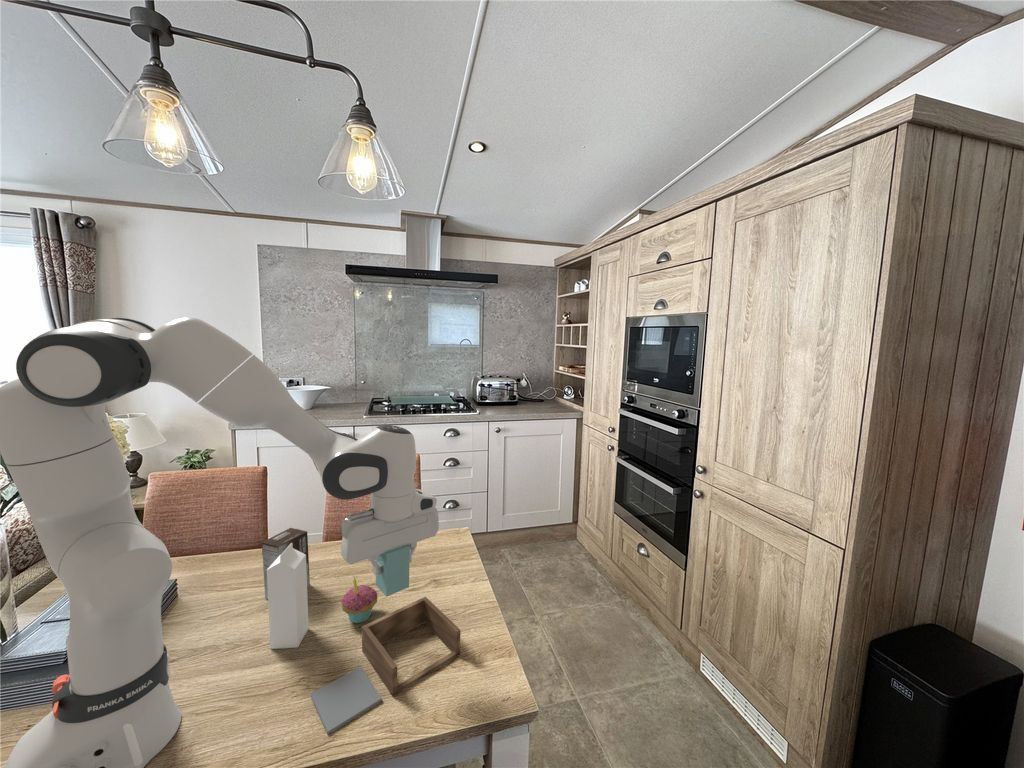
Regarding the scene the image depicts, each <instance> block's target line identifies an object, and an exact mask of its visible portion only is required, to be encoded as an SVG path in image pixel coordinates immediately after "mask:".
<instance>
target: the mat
mask: <svg viewBox="0 0 1024 768" xmlns="http://www.w3.org/2000/svg"><path fill="white" fill-rule="evenodd" d="M310 698H311V700H312V703H313V705H314V708H315V710H316V712H317V714H318V717H319V719H320V721H321V723H322V725H323V728H324V730H325V733H326V734H327V735H330V734H331V733H333V732H334V731H336V730H339V728H341V727H342V726H344V725H346V724H348V723H349V722H350V721H352V720H354V719H356V718H357V717H359V716H361V715H362V714H363V713H365V712H367V711H369V710H370V709H372V708H374V707H375V706H376V705H378V704H379V703H381V702H383V698H382V696H381V695H380V693H379V692H378V690H377V689H376V687H375V685H374V684H373V682H372V681H371V679H370V678H369V676H368V675H367V673H366V671H365V670H364V668H363V667H362V666H359V667H357V668H355V669H353V670H352V671H350V672H348V673H346V674H344V675H342V676H340V677H338V678H337V679H335V680H333V681H331V682H330V683H328V684H325V685H324V686H322V687H321V688H318V689H317V690H314V691H313V692H311V693H310Z"/></svg>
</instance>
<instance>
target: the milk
mask: <svg viewBox="0 0 1024 768" xmlns="http://www.w3.org/2000/svg"><path fill="white" fill-rule="evenodd" d="M267 588H268V599H267V605H268V608H267V609H268V625H269V626H268V627H269V645H270V646H269V648H270V649H271V650H273V649H277V650H278V649H279V650H280V649H292V648H293V649H294V648H295V649H296V648H299V646H300V644H301V643H302V641H303V639H304V638H305V635H307V632H308V631H309V627H310V625H309V608H308V607H309V605H308V604H309V603H308V601H309V600H308V599H309V598H308V586H307V571H306V555H305V554H303V553H301V552H299V551H297V550H295V549H293V544H292V543H291V544H290V545H289V546H288V547H287V548H286V550H285V551H284V552H283V553H282V554H281V555H280V556H279V557H278V558H277V559H276V560H275V561H274V562H273V563H272V565H271V566H270V567H269V568H268V569H267Z"/></svg>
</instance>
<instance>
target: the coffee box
mask: <svg viewBox="0 0 1024 768" xmlns="http://www.w3.org/2000/svg"><path fill="white" fill-rule="evenodd" d="M308 539H309V538H308V531H307V530H302V529H300V528H293V527H289V528H288V529H287V528H286V529H285V530H284V531H282V532H279V533H277V534H275V535H273V536H271V537H270V538H268V539H266V540H263V541H262V542H261V550H262V551H261V553H262V567H263V568H262V569H263V570H262V571H263V582H264V583H263V584H264V599H265V600H268V588H267V569H268V568H269V567H270V566H271V565H272V563H273V562H274V561H275V560H276V559H277V558H278V557H279V556H280V555H281V554H282V553H283V552H284V551H285V550H286V548H287V547H288V546H289V545H290V544H291V543H292V544H293V549H295V550H297V551H299V552H301V553H303V554H305V555H306V571H307V587H309V586H310V585H311V581H310V560H309V559H310V556H309V541H308Z"/></svg>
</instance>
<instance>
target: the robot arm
mask: <svg viewBox="0 0 1024 768" xmlns="http://www.w3.org/2000/svg"><path fill="white" fill-rule="evenodd" d="M15 370H16V375H17V377H18V378H17V379H15V380H12V381H10V382H9V381H8V382H7V383H5V384H3V385H2V386H0V455H1V456H2V459H3V463H4V464H5V466H6V468H7V471H8V473H9V474H10V476H11V478H12V481H13V483H14V485H15V488H16V489H17V492H18V494H19V496H20V497H21V500H22V502H23V504H24V506H25V509H26V511H27V513H28V515H29V517H30V520H31V523H32V525H33V529H34V532H35V534H36V536H37V538H38V541H39V543H40V545H41V548H42V550H43V553H44V555H45V558H46V560H47V563H48V565H49V566H50V569H51V570H52V572H53V573H54V574H55V575H56V577H57V578H58V580H59V581H60V582H61V584H62V585H63V588H64V589H65V590H64V591H66V594H67V595H66V596H67V597H68V598H67V599H68V603H69V628H68V634H67V637H66V640H65V646H66V654H67V655H66V656H67V664H68V672H69V674H62V675H60V676H58V677H57V678H56V679H55V680H54V681H53V683H52V687H51V693H52V694H53V697H52V700H51V703H52V704H51V706H52V707H51V708H52V710H51V711H50V712H49V713H48V714H47V715H45V716H44V717H43V718H41V719H40V720H39V721H38V722H37V723H36V724H35V725H34V726H33V727H31V728H30V729H29V730H27V731H26V732H25V733H24V734H23V735H22V736H21V737H20V739H18V741H17V743H16V744H15V745H14V747H13V749H12V750H11V752H10V755H9V757H8V758H7V761H6V763H5V765H4V768H145V767H146V765H148V763H149V762H150V761H151V760H152V759H153V758H154V757H155V756H157V755H158V754H159V753H160V752H161V751H162V750H163V749H164V748H165V747H166V746H167V745H168V743H169V742H170V741H171V740H172V739H173V737H174V736H175V735H176V733H177V731H178V729H179V727H180V724H181V722H182V712H181V709H180V708H179V707H178V705H177V703H176V701H175V699H174V697H173V694H172V691H171V687H170V685H169V679H170V673H171V672H170V659H169V658H170V657H169V653H168V650H167V647H166V645H165V644H164V639H163V628H162V627H163V625H162V602H163V595H164V590H165V588H166V585H167V584H168V582H169V580H170V579H171V575H172V573H173V562H172V559H171V556H170V553H169V551H168V548H167V547H166V545H165V543H164V542H163V541H162V540H161V539H160V538H158V537H157V536H156V535H154V534H153V533H151V531H149V530H148V529H147V528H145V527H144V525H143V524H142V523H141V521H139V519H138V517H137V514H136V512H135V508H134V504H133V503H134V502H133V499H132V492H131V483H132V482H131V477H130V474H129V471H128V469H127V467H126V464H125V461H124V458H123V456H122V453H121V451H120V448H119V445H118V443H117V440H116V438H115V434H114V433H113V429H112V428H111V424H110V423H109V420H108V417H107V413H106V407H107V403H109V402H112V401H113V400H116V399H118V398H120V397H123V396H125V395H127V394H129V393H131V392H134V391H136V390H139V389H141V388H143V387H145V386H147V385H148V383H162V384H165V385H168V386H171V387H173V388H175V389H176V390H178V391H179V392H181V393H183V394H184V395H185V396H186V397H188V398H189V399H191V400H192V401H194V402H195V403H197V404H198V405H199V406H201V407H202V408H204V409H205V410H206V411H208V412H209V413H211V414H213V415H214V416H216V417H218V418H220V419H222V420H225V421H227V422H228V423H230V424H233V425H235V426H237V427H258V428H260V427H261V428H266V429H269V430H271V431H273V432H275V433H277V434H279V435H280V436H282V437H283V438H285V439H286V440H287V441H289V442H290V443H292V444H293V445H295V446H296V447H297V448H299V449H301V451H303V452H305V453H306V454H307V455H308V456H309V457H310V458H311V460H312V462H313V464H314V467H315V469H316V470H317V473H319V476H320V480H321V482H322V485H323V488H324V489H325V491H326V492H327V494H329V495H330V496H332V497H333V498H336V499H339V500H353V499H358V498H360V497H364V496H365V497H366V496H367V495H370V509H367V510H363V511H359V512H354V513H351V514H350V515H349V516H348V517H346V518H345V519H344V520H343V521H342V523H341V535H342V536H341V537H342V539H341V545H340V547H341V548H340V556H341V557H342V559H343V560H344V561H345V562H347V563H348V564H349V565H353V564H355V563H359V562H362V561H365V560H368V561H369V562H370V564H371V565H372V567H371V568H372V570H371V571H372V573H373V575H375V576H376V575H378V574H381V573H383V570H382V569H383V565H382V564H381V563H380V562H377V563H376V560H378V555H380V554H383V553H385V552H388V551H391V550H394V549H397V548H400V547H403V546H406V545H409V546H410V562H409V564H411V563H412V558H413V557H412V555H413V554H414V552H415V550H416V549H417V545H418V542H421V541H424V540H427V539H430V538H433V537H435V536H436V535H437V533H438V532H439V528H440V527H439V525H440V524H439V523H440V522H439V519H440V518H439V511H438V509H437V507H436V506H437V504H438V502H437V501H438V498H436V497H435V496H434V495H433V494H431V493H429V492H427V491H425V490H423V489H419V488H418V489H417V487H416V484H415V475H416V474H415V473H416V470H417V452H416V451H417V448H416V440H415V436H414V434H412V433H411V431H410V430H408V429H406V428H404V427H402V426H397V425H390V424H389V425H388V424H384V425H377V426H376V427H375V428H374V429H373V430H372V431H371V432H369V433H368V434H366V435H364V436H363V437H361V438H359V439H358V438H356V437H354V436H352V435H350V434H346V433H342V432H339V431H335V430H333V429H330V428H329V427H328V426H326V425H325V424H324V423H322V422H321V421H320V420H318V419H317V418H316V417H315V416H313V415H312V414H311V413H309V412H308V411H307V410H306V409H304V408H303V407H302V406H300V405H299V403H297V401H296V400H295V399H294V398H293V397H292V395H291V394H290V392H289V391H288V389H287V388H286V386H285V385H284V384H283V382H282V381H281V380H280V379H279V377H278V376H277V375H276V373H274V372H273V371H272V370H271V369H270V368H269V366H268V365H266V364H265V363H264V362H263V361H262V360H261V359H260V358H259V357H257V356H256V355H255V354H253V352H251V351H250V350H249V349H248V348H246V347H245V346H244V345H242V344H241V343H239V342H238V341H236V340H235V338H232V337H231V336H229V335H227V334H226V333H225V332H223V331H221V330H219V329H218V328H216V327H215V326H212V325H211V324H209V323H207V322H205V321H204V320H201V319H200V318H196V317H180V318H176V319H173V320H171V321H168V322H166V323H164V324H162V325H161V326H160V327H158V328H157V329H155V328H154V327H153V326H151V325H149V324H147V323H144V322H142V321H139V320H135V319H132V318H131V319H130V318H125V317H123V318H122V317H116V318H115V317H112V318H107V319H106V318H103V319H102V318H101V319H99V318H98V319H91V320H86V321H85V320H84V321H81V322H77V323H75V324H72V325H70V326H66V327H59V328H54V329H51V330H48V331H46V332H43V333H42V334H39V335H38V336H36V337H35V338H33V339H32V340H31V341H29V342H28V343H27V344H26V345H24V347H23V348H22V349H21V350H20V352H19V354H18V357H17V359H16V364H15Z"/></svg>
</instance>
